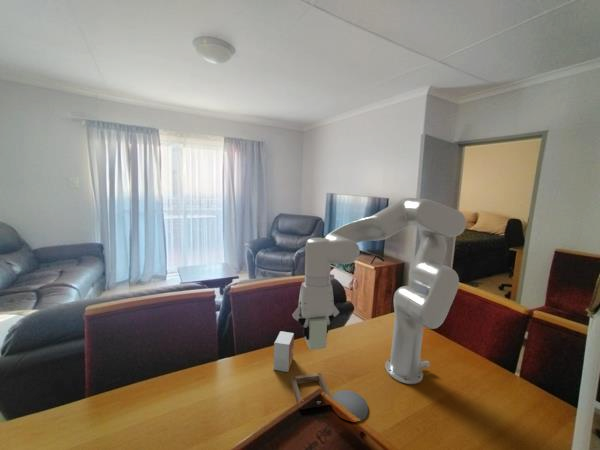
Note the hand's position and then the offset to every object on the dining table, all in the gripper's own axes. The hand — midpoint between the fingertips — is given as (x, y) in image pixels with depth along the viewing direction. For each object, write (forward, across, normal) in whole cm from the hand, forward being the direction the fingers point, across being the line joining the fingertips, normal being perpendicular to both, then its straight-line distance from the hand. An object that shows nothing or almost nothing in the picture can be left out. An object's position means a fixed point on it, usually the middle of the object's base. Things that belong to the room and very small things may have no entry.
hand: (315, 335), depth 79 cm
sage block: (+3, 0, 0) cm, 3 cm away
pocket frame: (+19, +1, 0) cm, 19 cm away
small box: (+20, +7, -15) cm, 26 cm away
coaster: (+20, -9, +7) cm, 23 cm away
